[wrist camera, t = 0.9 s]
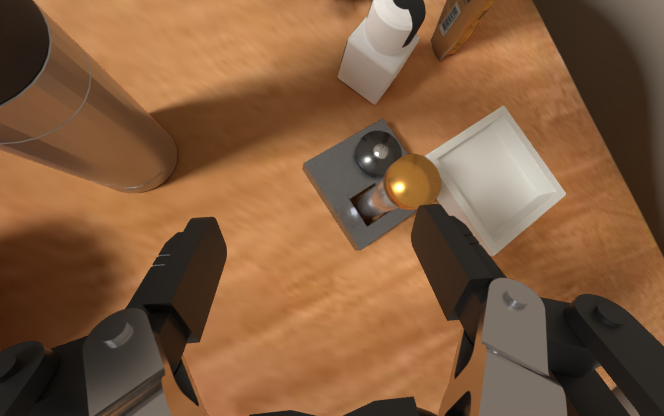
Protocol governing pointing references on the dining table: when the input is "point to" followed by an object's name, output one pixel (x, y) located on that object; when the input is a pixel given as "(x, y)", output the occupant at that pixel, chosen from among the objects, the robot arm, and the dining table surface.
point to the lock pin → (402, 187)
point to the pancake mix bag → (457, 24)
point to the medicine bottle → (381, 46)
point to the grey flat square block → (357, 180)
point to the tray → (494, 180)
